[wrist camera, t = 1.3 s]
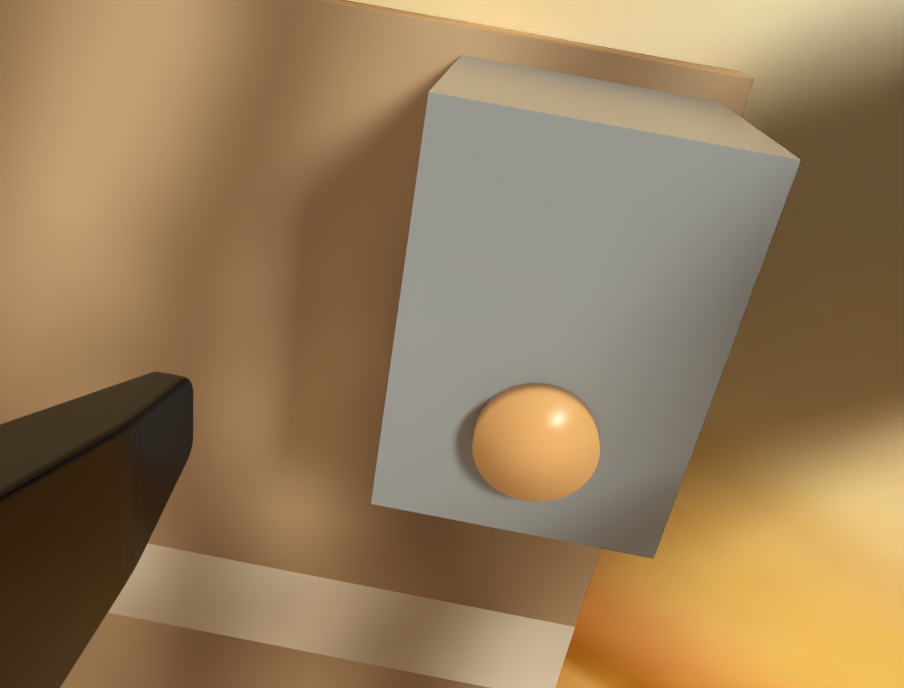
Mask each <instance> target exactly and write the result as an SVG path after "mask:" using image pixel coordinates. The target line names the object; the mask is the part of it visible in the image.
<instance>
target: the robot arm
mask: <svg viewBox="0 0 904 688" xmlns="http://www.w3.org/2000/svg"><path fill="white" fill-rule="evenodd" d="M192 444H193V386H192V382H191V381H190V380H189V379H188V378H187V377H184V376H179V375H174V374H169V373H164V372H151V373H148V374H145V375H142V376H139V377H136V378H133V379H130V380H128V381H125V382H122V383H119V384H116V385H113V386H110V387H107V388H104V389H101V390H99V391H96V392H93V393H90V394H87V395H84V396H81V397H78V398H75V399H72V400H70V401H67V402H64V403H61V404H58V405H55V406H52V407H49V408H46V409H43V410H40V411H38V412H35V413H32V414H29V415H26V416H23V417H20V418H17V419H14V420H11V421H9V422H6V423H3V424H0V688H60V687H61V686H62V684H63V683H64V681H65V680H66V678H67V676H68V675H69V673H70V672H71V670H72V668H73V667H74V665H75V664H76V662H77V661H78V659H79V657H80V656H81V654H82V653H83V651H84V649H85V648H86V646H87V645H88V643H89V642H90V640H91V638H92V637H93V635H94V634H95V632H96V631H97V629H98V627H99V626H100V624H101V623H102V621H103V619H104V618H105V616H106V615H107V613H108V612H109V610H110V608H111V607H112V605H113V604H114V602H115V600H116V599H117V597H118V596H119V594H120V593H121V591H122V589H123V588H124V586H125V585H126V583H127V581H128V579H129V578H130V576H131V574H132V573H133V571H134V569H135V568H136V566H137V564H138V562H139V560H140V558H141V556H142V554H143V552H144V550H145V548H146V546H147V544H148V542H149V540H150V538H151V536H152V533H153V531H154V529H155V527H156V525H157V523H158V521H159V519H160V517H161V515H162V513H163V511H164V508H165V506H166V504H167V502H168V500H169V498H170V496H171V494H172V492H173V490H174V488H175V485H176V483H177V481H178V479H179V477H180V475H181V473H182V471H183V469H184V467H185V465H186V463H187V460H188V458H189V456H190V453H191V449H192Z"/></svg>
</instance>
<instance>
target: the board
mask: <svg viewBox="0 0 904 688" xmlns="http://www.w3.org/2000/svg"><path fill="white" fill-rule="evenodd" d="M461 55H466V56H471V57H477V58H482V59H488V60H493V61H499V62H504V63H510V64H515V65H521V66H526V67H532V68H537V69H543V70H548V71H554V72H559V73H565V74H570V75H576V76H581V77H587V78H592V79H598V80H603V81H609V82H614V83H620V84H625V85H631V86H636V87H642V88H647V89H653V90H658V91H664V92H669V93H675V94H680V95H686V96H691V97H697V98H702V99H708V100H713V101H719V102H720V103H722V104H723V105H725V106H726V107H727V108H729V109H730V110H732V111H733V112H734V113H736V114H737V115H739V116H740V117H742V114H743V111H744V108H745V105H746V102H747V99H748V96H749V92H750V89H751V86H752V83H753V80H754V79H753V78H751V77H749V76H746V75H744V74H742V73H740V72H738V71H733V70H727V69H722V68H716V67H711V66H705V65H700V64H694V63H689V62H683V61H677V60H672V59H666V58H661V57H655V56H650V55H644V54H639V53H633V52H628V51H622V50H617V49H611V48H606V47H600V46H595V45H589V44H584V43H578V42H573V41H567V40H562V39H556V38H551V37H545V36H540V35H534V34H529V33H523V32H518V31H512V30H507V29H501V28H495V27H490V26H484V25H479V24H473V23H468V22H462V21H457V20H451V19H446V18H440V17H435V16H429V15H424V14H418V13H413V12H407V11H402V10H396V9H391V8H385V7H380V6H374V5H369V4H363V3H358V2H352V1H347V0H0V424H3V423H6V422H9V421H11V420H14V419H17V418H20V417H23V416H26V415H29V414H32V413H35V412H38V411H40V410H43V409H46V408H49V407H52V406H55V405H58V404H61V403H64V402H67V401H70V400H72V399H75V398H78V397H81V396H84V395H87V394H90V393H93V392H96V391H99V390H101V389H104V388H107V387H110V386H113V385H116V384H119V383H122V382H125V381H128V380H130V379H133V378H136V377H139V376H142V375H145V374H148V373H151V372H164V373H169V374H174V375H179V376H184V377H187V378H188V379H189V380H190V381H191V382H192V386H193V444H192V449H191V453H190V456H189V458H188V460H187V463H186V465H185V467H184V469H183V471H182V473H181V475H180V477H179V479H178V481H177V483H176V485H175V488H174V490H173V492H172V494H171V496H170V498H169V500H168V502H167V504H166V506H165V508H164V511H163V513H162V515H161V517H160V519H159V521H158V523H157V525H156V527H155V529H154V531H153V533H152V536H151V538H150V540H149V542H148V544H147V546H146V548H145V550H144V552H143V554H142V556H141V558H140V560H139V562H138V564H137V566H136V568H135V569H134V571H133V573H132V574H131V576H130V578H129V579H128V581H127V583H126V585H125V586H124V588H123V589H122V591H121V593H120V594H119V596H118V597H117V599H116V600H115V602H114V604H113V605H112V607H111V608H110V610H109V612H108V613H107V615H106V616H105V618H104V619H103V621H102V623H101V624H100V626H99V627H98V629H97V631H96V632H95V634H94V635H93V637H92V638H91V640H90V642H89V643H88V645H87V646H86V648H85V649H84V651H83V653H82V654H81V656H80V657H79V659H78V661H77V662H76V664H75V665H74V667H73V668H72V670H71V672H70V673H69V675H68V676H67V678H66V680H65V681H64V683H63V684H62V686H61V687H60V688H555V687H556V684H557V681H558V678H559V675H560V672H561V669H562V666H563V663H564V659H565V656H566V653H567V650H568V647H569V644H570V641H571V638H572V635H573V632H574V629H575V626H576V623H577V620H578V617H579V613H580V610H581V607H582V604H583V601H584V598H585V595H586V592H587V589H588V586H589V583H590V580H591V577H592V574H593V571H594V568H595V564H596V561H597V558H598V555H599V552H600V549H601V548H597V547H591V546H586V545H581V544H576V543H571V542H566V541H560V540H555V539H550V538H545V537H540V536H535V535H529V534H524V533H519V532H514V531H509V530H504V529H498V528H493V527H488V526H483V525H478V524H472V523H467V522H462V521H457V520H452V519H447V518H441V517H436V516H431V515H426V514H421V513H416V512H410V511H405V510H400V509H395V508H390V507H384V506H379V505H374V504H371V500H372V493H373V486H374V479H375V471H376V464H377V457H378V450H379V443H380V436H381V429H382V421H383V414H384V407H385V400H386V393H387V386H388V379H389V371H390V364H391V357H392V350H393V343H394V336H395V329H396V321H397V314H398V307H399V300H400V293H401V286H402V279H403V271H404V264H405V257H406V250H407V243H408V236H409V229H410V221H411V214H412V207H413V200H414V193H415V186H416V179H417V171H418V164H419V157H420V150H421V143H422V136H423V128H424V121H425V114H426V107H427V100H428V93H429V91H430V90H431V89H432V87H433V86H434V85H435V84H436V83H437V82H438V81H439V80H440V78H441V77H442V76H443V75H444V74H445V73H446V72H447V71H448V69H449V68H450V67H451V66H452V65H453V64H454V63H455V62H456V61H457V59H458V58H459V57H460V56H461Z"/></svg>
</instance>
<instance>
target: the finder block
mask: <svg viewBox="0 0 904 688" xmlns="http://www.w3.org/2000/svg"><path fill="white" fill-rule="evenodd" d="M800 162H801V160H800V159H799V158H798V157H796V156H795V155H793V154H792V153H791V152H789V151H788V150H786V149H785V148H784V147H782V146H781V145H779V144H778V143H777V142H775V141H774V140H772V139H771V138H770V137H768V136H767V135H765V134H764V133H763V132H761V131H760V130H758V129H757V128H755V127H754V126H753V125H751V124H750V123H748V122H747V121H746V120H744V119H743V118H741V117H740V116H739V115H737V114H736V113H734V112H733V111H732V110H730V109H729V108H727V107H726V106H725V105H723V104H722V103H720V102H719V101H713V100H708V99H702V98H697V97H691V96H686V95H680V94H675V93H669V92H664V91H658V90H653V89H647V88H642V87H636V86H631V85H625V84H620V83H614V82H609V81H603V80H598V79H592V78H587V77H581V76H576V75H570V74H565V73H559V72H554V71H548V70H543V69H537V68H532V67H526V66H521V65H515V64H510V63H504V62H499V61H493V60H488V59H482V58H477V57H471V56H466V55H461V56H460V57H459V58H458V59H457V61H456V62H455V63H454V64H453V65H452V66H451V67H450V68H449V69H448V71H447V72H446V73H445V74H444V75H443V76H442V77H441V78H440V80H439V81H438V82H437V83H436V84H435V85H434V86H433V87H432V89H431V90H430V91H429V93H428V100H427V107H426V114H425V121H424V128H423V136H422V143H421V150H420V157H419V164H418V171H417V179H416V186H415V193H414V200H413V207H412V214H411V221H410V229H409V236H408V243H407V250H406V257H405V264H404V271H403V279H402V286H401V293H400V300H399V307H398V314H397V321H396V329H395V336H394V343H393V350H392V357H391V364H390V371H389V379H388V386H387V393H386V400H385V407H384V414H383V421H382V429H381V436H380V443H379V450H378V457H377V464H376V471H375V479H374V486H373V493H372V500H371V504H374V505H379V506H384V507H390V508H395V509H400V510H405V511H410V512H416V513H421V514H426V515H431V516H436V517H441V518H447V519H452V520H457V521H462V522H467V523H472V524H478V525H483V526H488V527H493V528H498V529H504V530H509V531H514V532H519V533H524V534H529V535H535V536H540V537H545V538H550V539H555V540H560V541H566V542H571V543H576V544H581V545H586V546H591V547H597V548H602V549H607V550H612V551H617V552H623V553H628V554H633V555H638V556H643V557H648V558H654V555H655V553H656V550H657V547H658V545H659V542H660V539H661V536H662V534H663V531H664V528H665V526H666V523H667V520H668V518H669V515H670V512H671V510H672V507H673V504H674V501H675V499H676V496H677V493H678V491H679V488H680V485H681V483H682V480H683V477H684V474H685V472H686V469H687V466H688V464H689V461H690V458H691V456H692V453H693V450H694V447H695V445H696V442H697V439H698V437H699V434H700V431H701V429H702V426H703V423H704V421H705V418H706V415H707V412H708V410H709V407H710V404H711V402H712V399H713V396H714V394H715V391H716V388H717V385H718V383H719V380H720V377H721V375H722V372H723V369H724V367H725V364H726V361H727V358H728V356H729V353H730V350H731V348H732V345H733V342H734V340H735V337H736V334H737V332H738V329H739V326H740V323H741V321H742V318H743V315H744V313H745V310H746V307H747V305H748V302H749V299H750V296H751V294H752V291H753V288H754V286H755V283H756V280H757V278H758V275H759V272H760V269H761V267H762V264H763V261H764V259H765V256H766V253H767V251H768V248H769V245H770V243H771V240H772V237H773V234H774V232H775V229H776V226H777V224H778V221H779V218H780V216H781V213H782V210H783V207H784V205H785V202H786V199H787V197H788V194H789V191H790V189H791V186H792V183H793V180H794V178H795V175H796V172H797V170H798V167H799V164H800Z"/></svg>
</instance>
